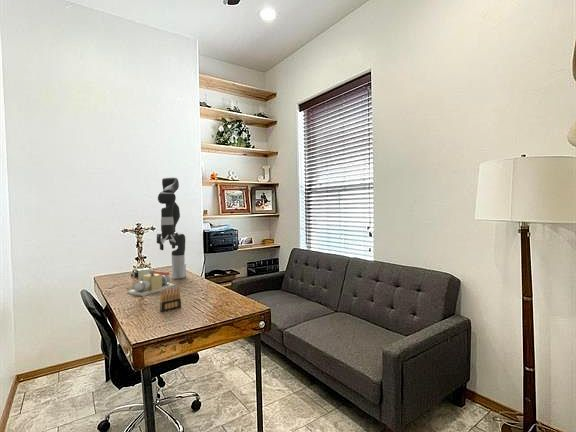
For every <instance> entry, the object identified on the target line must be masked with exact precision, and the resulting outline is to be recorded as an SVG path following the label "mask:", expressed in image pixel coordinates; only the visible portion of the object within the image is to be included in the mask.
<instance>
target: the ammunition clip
mask: <svg viewBox="0 0 576 432" xmlns="http://www.w3.org/2000/svg"><path fill="white" fill-rule="evenodd" d="M180 289H181V288H180V285H176V286H175V287H171V288H169V287H168V289H166V288H165V290H163V289H162V290H161V291H160V303H159V305H160V306H159V312H160V313H166V312H169V310H170V311H173V310H179V309H182V300H181V290H180ZM165 311H166V312H165Z"/></svg>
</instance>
